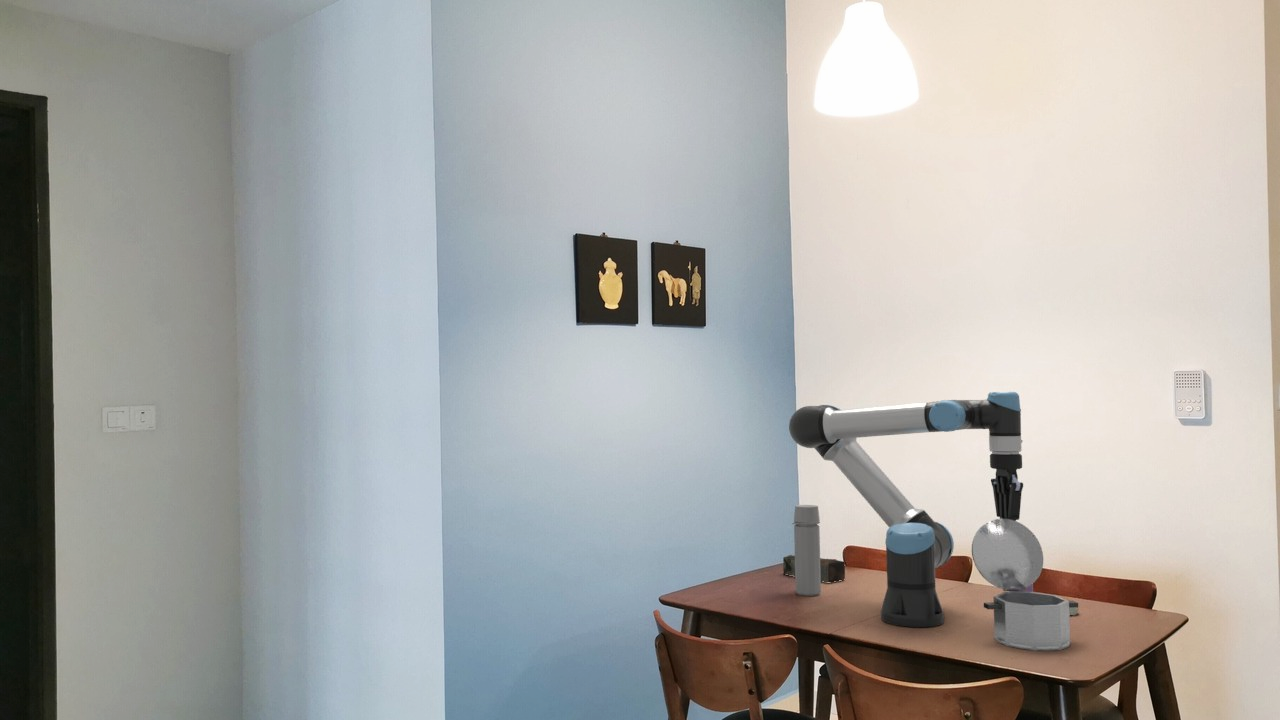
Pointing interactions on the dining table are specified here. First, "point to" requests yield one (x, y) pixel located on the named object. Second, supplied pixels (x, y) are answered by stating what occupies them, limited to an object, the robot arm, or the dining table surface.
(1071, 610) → the grey block
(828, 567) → the beverage carton
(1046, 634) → the pot
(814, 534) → the water bottle
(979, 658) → the dining table surface
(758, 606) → the dining table surface
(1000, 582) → the lid
